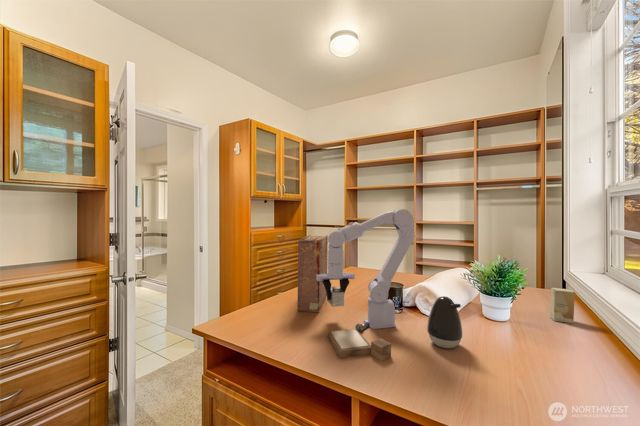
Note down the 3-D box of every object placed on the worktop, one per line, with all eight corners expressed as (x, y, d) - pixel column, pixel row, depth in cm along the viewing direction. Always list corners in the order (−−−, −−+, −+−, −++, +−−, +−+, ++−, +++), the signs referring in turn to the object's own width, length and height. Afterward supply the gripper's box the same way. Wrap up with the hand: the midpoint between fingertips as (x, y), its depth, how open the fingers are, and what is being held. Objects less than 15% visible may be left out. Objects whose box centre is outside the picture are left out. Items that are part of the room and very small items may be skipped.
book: (309, 293, 139) (309, 234, 139) (327, 294, 137) (327, 235, 137) (297, 311, 114) (298, 239, 114) (319, 313, 112) (319, 240, 112)
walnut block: (380, 351, 82) (380, 338, 82) (390, 357, 79) (391, 343, 79) (371, 355, 80) (371, 341, 80) (381, 361, 76) (381, 347, 76)
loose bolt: (364, 325, 100) (364, 318, 100) (370, 327, 99) (370, 319, 99) (355, 331, 96) (355, 323, 96) (362, 332, 94) (361, 324, 94)
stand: (356, 334, 93) (356, 327, 93) (372, 354, 80) (372, 346, 80) (327, 337, 90) (327, 330, 90) (339, 358, 78) (339, 350, 78)
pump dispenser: (448, 356, 80) (448, 304, 79) (420, 340, 89) (420, 294, 89) (470, 348, 84) (470, 299, 84) (441, 334, 93) (442, 290, 93)
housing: (337, 299, 107) (337, 285, 107) (344, 305, 100) (344, 290, 100) (326, 300, 106) (327, 286, 106) (332, 306, 99) (332, 291, 99)
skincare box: (553, 321, 106) (554, 289, 106) (549, 317, 110) (549, 287, 110) (574, 323, 104) (575, 291, 104) (569, 319, 108) (569, 289, 108)
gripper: (350, 260, 108) (349, 294, 109) (314, 261, 105) (314, 296, 105) (356, 263, 102) (356, 300, 102) (318, 265, 98) (318, 302, 98)
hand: (335, 298), depth 103 cm, fingers closed on housing, 4 cm apart
